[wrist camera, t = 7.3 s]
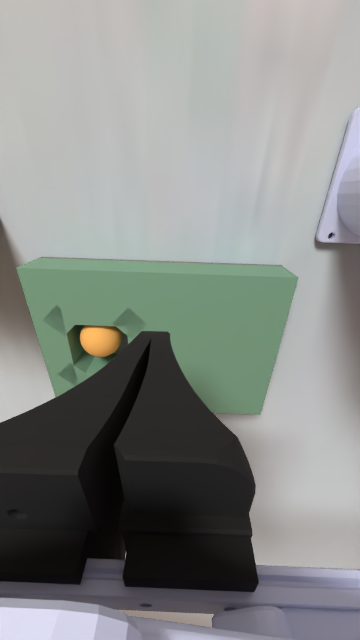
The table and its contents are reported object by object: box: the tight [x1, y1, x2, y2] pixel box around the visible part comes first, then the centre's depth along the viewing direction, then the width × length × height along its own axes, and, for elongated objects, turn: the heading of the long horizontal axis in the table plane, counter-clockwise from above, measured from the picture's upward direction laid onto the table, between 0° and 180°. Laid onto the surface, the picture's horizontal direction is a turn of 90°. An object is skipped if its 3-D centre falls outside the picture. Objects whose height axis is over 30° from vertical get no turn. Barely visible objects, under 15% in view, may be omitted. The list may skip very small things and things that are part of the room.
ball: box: [80, 325, 122, 357], centre depth 21 cm, size 4×4×4 cm
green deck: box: [16, 257, 298, 415], centre depth 21 cm, size 20×14×3 cm
